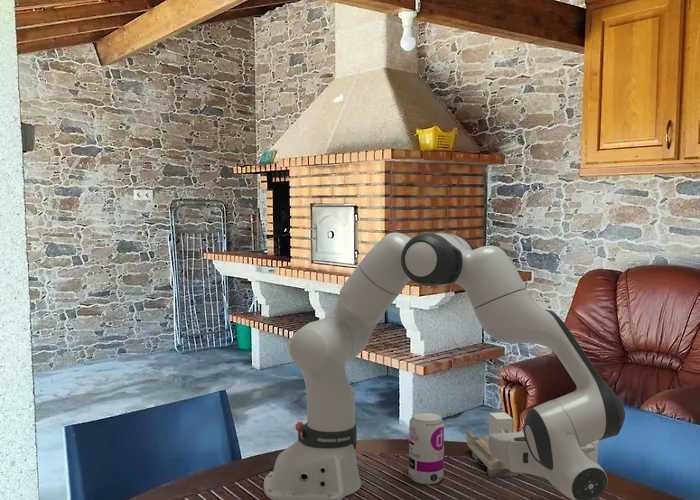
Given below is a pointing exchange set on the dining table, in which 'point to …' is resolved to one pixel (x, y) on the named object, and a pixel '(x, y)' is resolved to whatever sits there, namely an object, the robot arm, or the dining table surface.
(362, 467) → the dining table surface
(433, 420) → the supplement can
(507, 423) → the rider
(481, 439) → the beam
